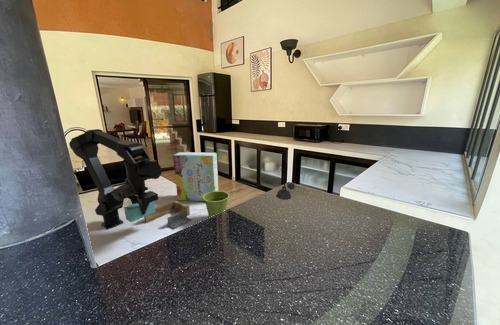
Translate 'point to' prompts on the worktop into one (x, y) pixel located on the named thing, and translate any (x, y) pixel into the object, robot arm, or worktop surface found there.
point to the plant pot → (216, 202)
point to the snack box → (195, 175)
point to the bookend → (178, 219)
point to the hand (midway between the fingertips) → (140, 212)
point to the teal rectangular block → (138, 211)
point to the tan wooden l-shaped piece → (167, 210)
